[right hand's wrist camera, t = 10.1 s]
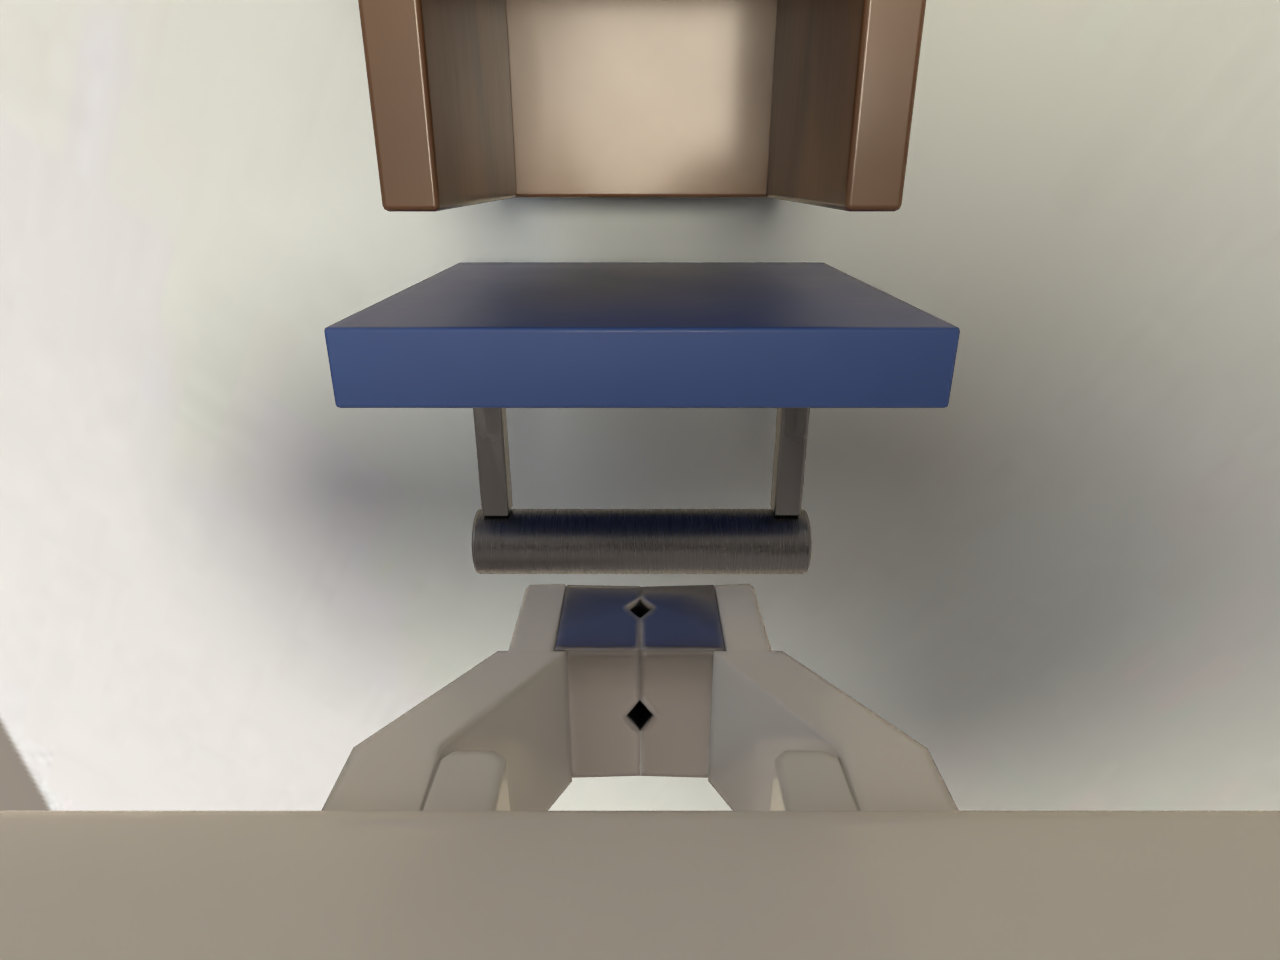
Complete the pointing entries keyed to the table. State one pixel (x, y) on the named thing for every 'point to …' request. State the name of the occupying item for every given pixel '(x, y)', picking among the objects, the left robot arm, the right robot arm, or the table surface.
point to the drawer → (641, 292)
